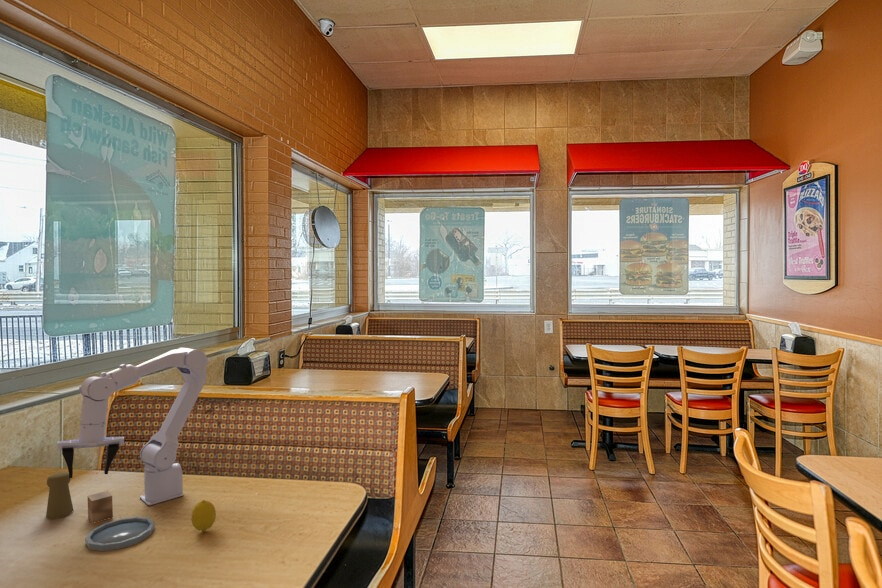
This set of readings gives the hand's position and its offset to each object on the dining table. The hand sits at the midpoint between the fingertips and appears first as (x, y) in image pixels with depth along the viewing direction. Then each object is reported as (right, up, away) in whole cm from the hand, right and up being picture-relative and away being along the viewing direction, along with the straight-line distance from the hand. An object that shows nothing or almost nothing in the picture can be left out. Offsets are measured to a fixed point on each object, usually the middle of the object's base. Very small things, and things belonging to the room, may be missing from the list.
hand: (88, 475), depth 135 cm
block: (+2, -12, +2) cm, 12 cm away
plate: (+13, -12, -8) cm, 20 cm away
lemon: (+33, -12, -6) cm, 36 cm away
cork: (-11, -12, +5) cm, 17 cm away
